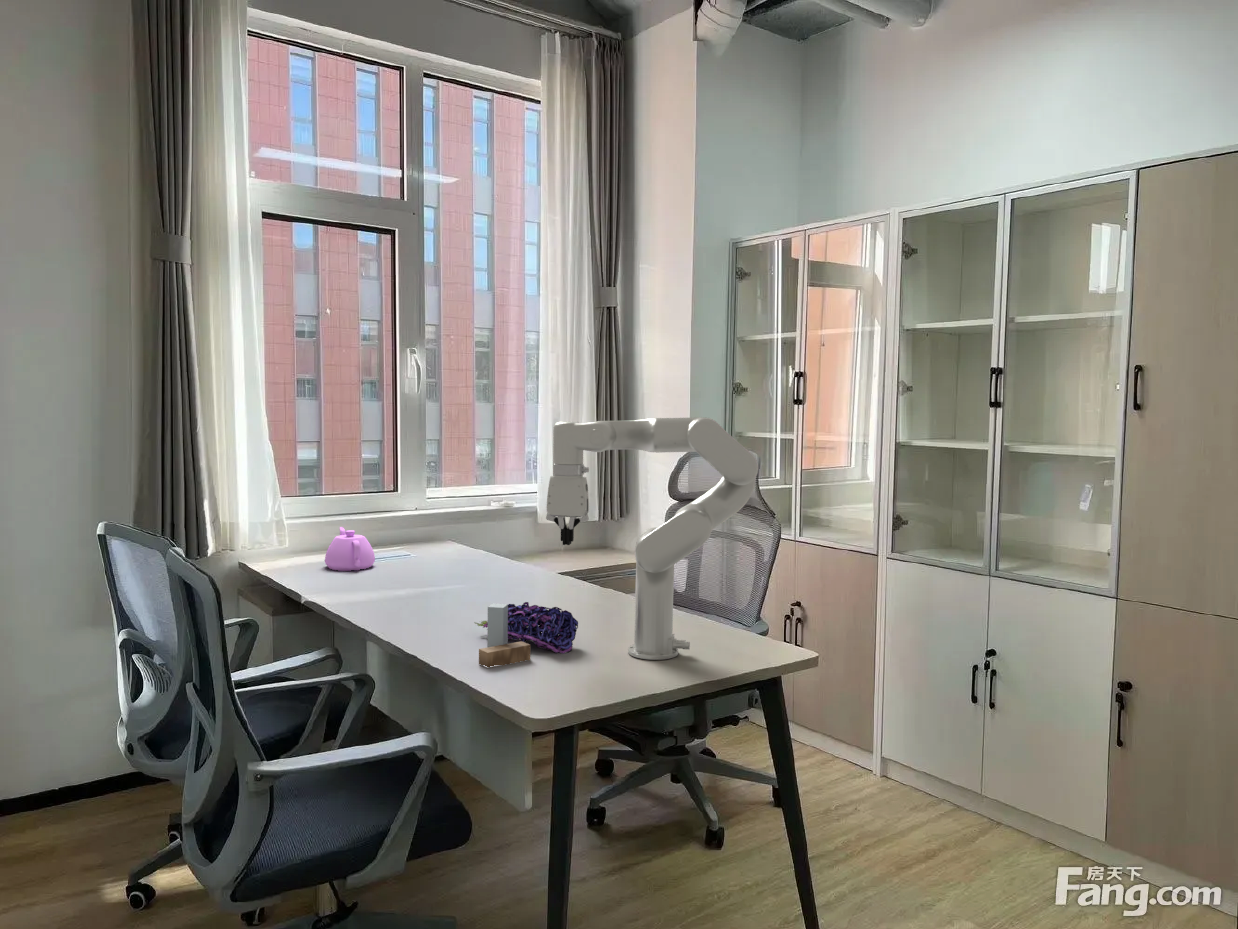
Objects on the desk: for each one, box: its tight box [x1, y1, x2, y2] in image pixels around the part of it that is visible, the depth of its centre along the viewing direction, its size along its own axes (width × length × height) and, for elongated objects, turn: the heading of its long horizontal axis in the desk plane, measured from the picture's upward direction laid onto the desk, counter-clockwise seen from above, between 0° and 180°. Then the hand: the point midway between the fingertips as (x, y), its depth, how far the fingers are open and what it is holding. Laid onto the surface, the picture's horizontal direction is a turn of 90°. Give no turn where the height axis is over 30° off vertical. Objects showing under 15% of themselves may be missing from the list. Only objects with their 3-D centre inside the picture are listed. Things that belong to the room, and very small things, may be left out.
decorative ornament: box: [473, 601, 579, 654], centre depth 238 cm, size 13×11×30 cm
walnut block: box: [478, 640, 531, 667], centre depth 220 cm, size 4×4×12 cm
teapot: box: [324, 526, 376, 572], centre depth 338 cm, size 25×18×14 cm
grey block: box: [486, 603, 509, 648], centre depth 228 cm, size 4×4×12 cm
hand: (567, 544), depth 230 cm, fingers closed
